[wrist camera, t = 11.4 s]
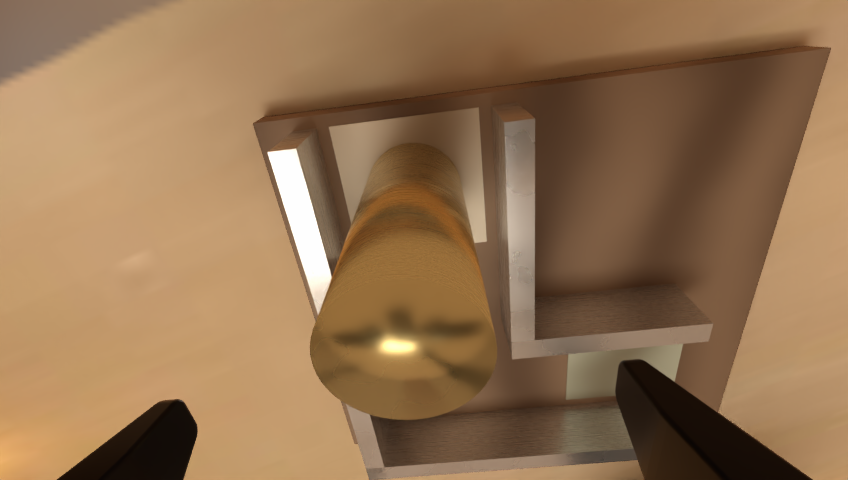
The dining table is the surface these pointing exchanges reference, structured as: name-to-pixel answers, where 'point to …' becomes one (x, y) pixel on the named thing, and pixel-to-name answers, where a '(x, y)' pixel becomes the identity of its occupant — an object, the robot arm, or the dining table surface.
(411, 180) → the brass peg
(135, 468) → the robot arm
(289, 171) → the steel rails
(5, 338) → the dining table surface
